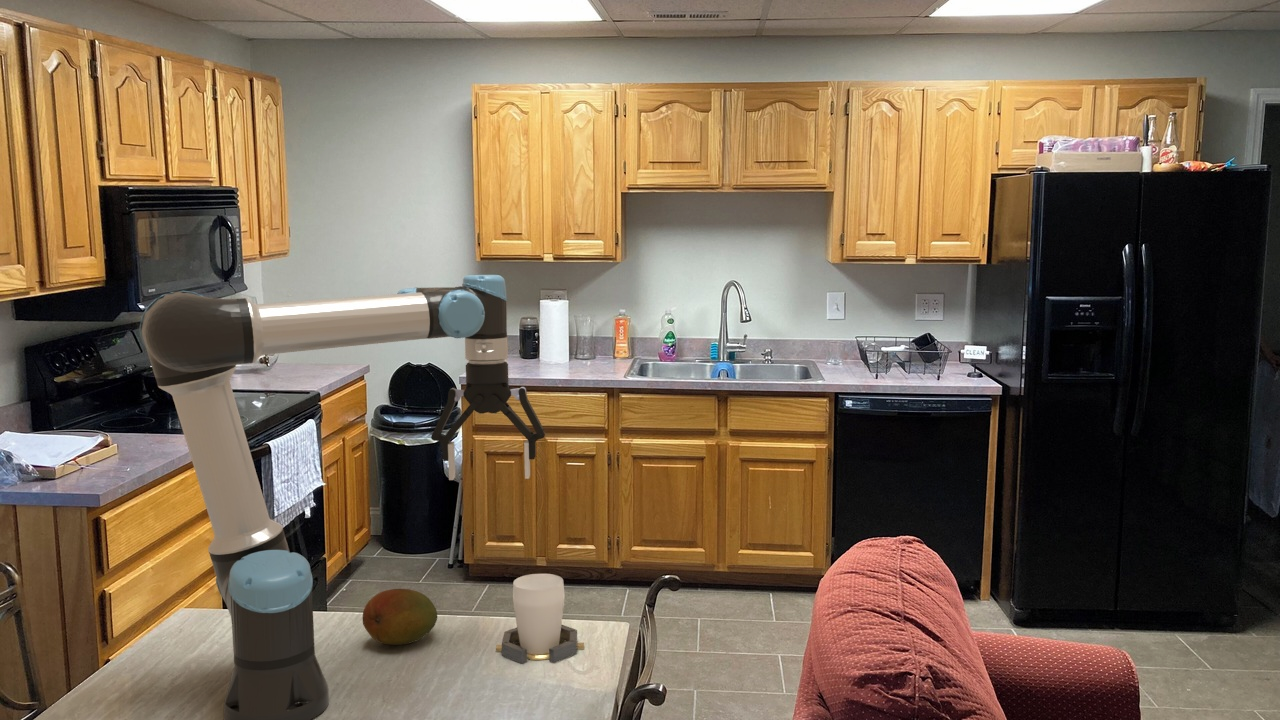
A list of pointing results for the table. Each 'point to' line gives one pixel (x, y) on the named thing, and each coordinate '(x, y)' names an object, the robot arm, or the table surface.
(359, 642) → the table surface
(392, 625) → the fruit
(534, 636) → the cup
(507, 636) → the socket
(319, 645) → the table surface
